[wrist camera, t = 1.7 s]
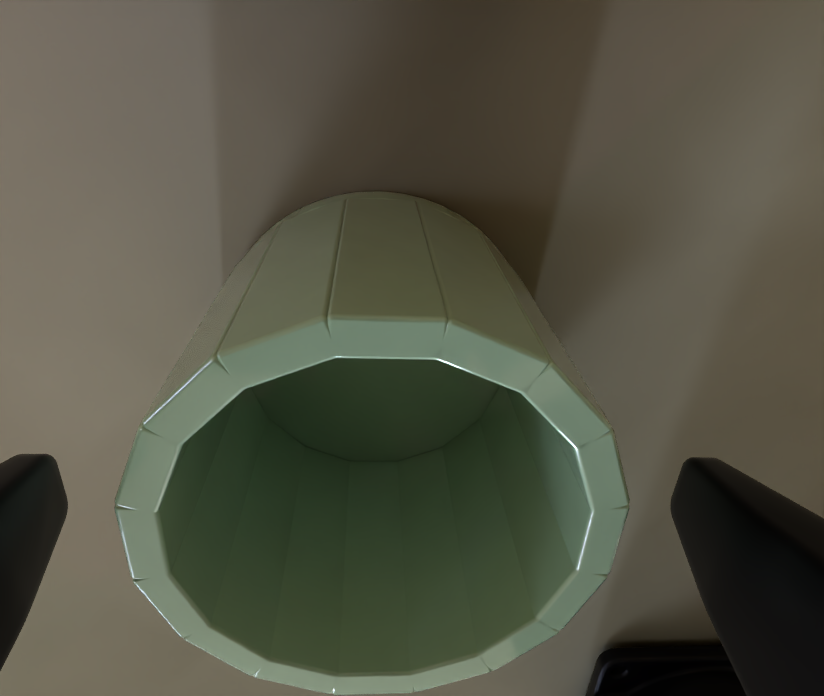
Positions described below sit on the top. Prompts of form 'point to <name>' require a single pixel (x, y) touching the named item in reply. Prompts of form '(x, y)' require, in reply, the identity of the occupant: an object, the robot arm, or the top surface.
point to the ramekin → (372, 460)
